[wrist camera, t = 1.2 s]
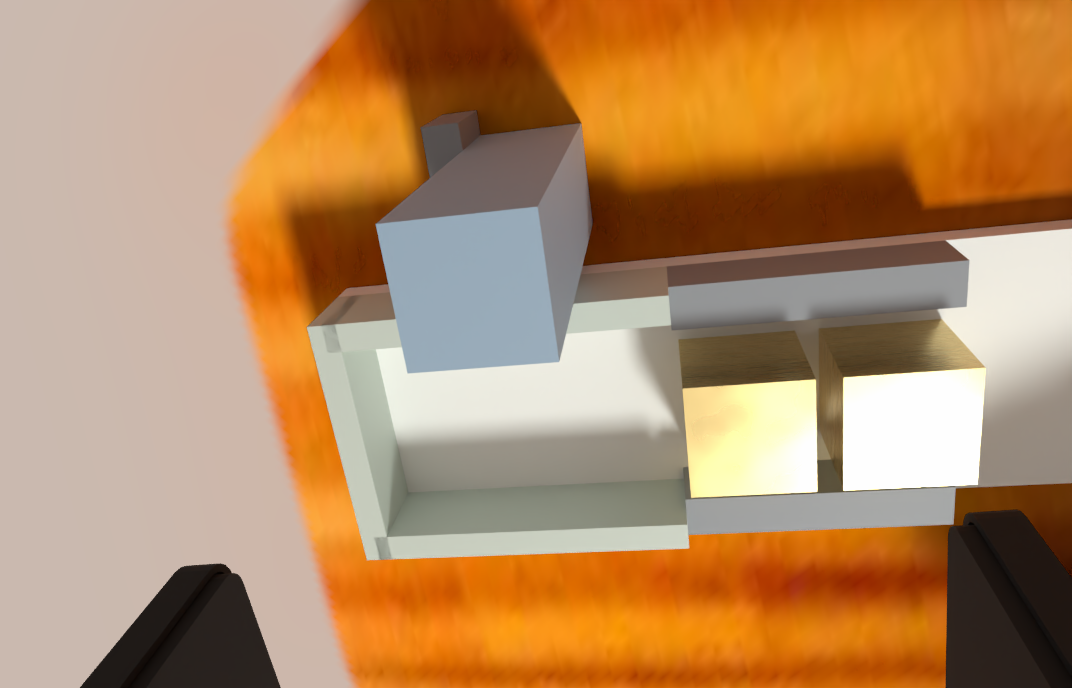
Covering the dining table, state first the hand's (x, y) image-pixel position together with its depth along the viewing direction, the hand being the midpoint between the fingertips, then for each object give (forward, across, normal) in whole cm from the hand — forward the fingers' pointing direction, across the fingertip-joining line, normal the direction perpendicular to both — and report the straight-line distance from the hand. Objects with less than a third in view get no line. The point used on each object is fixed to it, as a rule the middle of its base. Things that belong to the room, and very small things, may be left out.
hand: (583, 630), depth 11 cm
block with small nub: (+20, +3, -2) cm, 20 cm away
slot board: (+20, -3, +6) cm, 21 cm away
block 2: (+19, -8, +6) cm, 22 cm away
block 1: (+19, -4, +6) cm, 20 cm away
